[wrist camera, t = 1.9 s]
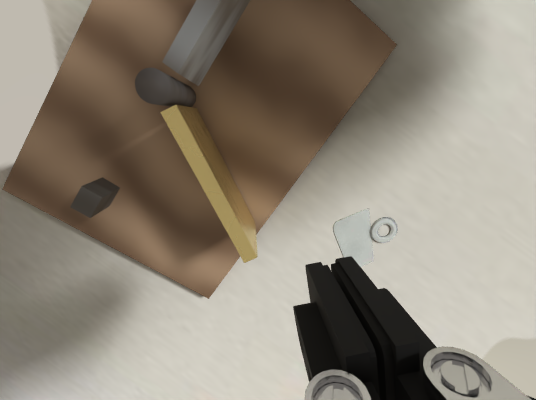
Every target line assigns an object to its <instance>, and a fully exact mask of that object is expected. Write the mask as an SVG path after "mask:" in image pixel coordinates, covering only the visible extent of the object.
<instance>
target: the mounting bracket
mask: <svg viewBox="0 0 536 400" xmlns="http://www.w3.org/2000/svg"><path fill="white" fill-rule="evenodd" d="M384 224H387V225H389V226H390V228H391V230H390V233H389V234H388V235H386V236H380V235H379V234H378V229H379V227H380V226H382V225H384ZM333 230H334V234H335V236H336V239H337V241H338V244H339V246H340V249H341V252H342V254H343V257H349V256H352V257H353V258H354V260H355V261H356V262H357V263H358V265H359V266H360V267H361V266H364V265H366V264H368V263H371V262H373V261H374V255H373V244H372V238H373V240H375V241H377V242H381V243H385V242H389V241H390V240H392V239H393V238H394V237H395V235H396V233H397V224H396V223H395V221H394V220H393V219H391V218H388V217H383V218H380V219H378V220H376V221H375V222H374V223H373V225H372V227H371V223H370V213H369V208H367V209H365V210H363V211H360V212H358V213H356V214H353V215H351V216H348V217H346V218H344V219H341V220H339V221H337V222H336V223H335V224H334V227H333Z"/></svg>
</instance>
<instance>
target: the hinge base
mask: <svg viewBox="0 0 536 400" xmlns="http://www.w3.org/2000/svg"><path fill="white" fill-rule="evenodd" d="M396 46H397V44H396V43H395V42H394V41H393V40H392V39H391V38H389V37H388V36H387V35H386V34H385V33H384V32H383V31H382V30H381V29H380V28H379V27H378V26H377V25H376V24H375V23H374V22H372V21H371V20H370V19H369V18H368V17H367V16H366V15H365V14H364V13H363V12H362V11H361V10H360V9H359V8H358V7H356V6H355V5H354V4H353V3H352V2H351V1H350V0H92V2H91V4H90V6H89V8H88V10H87V13H86V15H85V17H84V19H83V21H82V23H81V25H80V27H79V29H78V31H77V33H76V36H75V38H74V40H73V42H72V44H71V46H70V48H69V50H68V52H67V54H66V57H65V59H64V61H63V63H62V65H61V67H60V69H59V71H58V73H57V75H56V78H55V80H54V82H53V84H52V86H51V88H50V90H49V92H48V94H47V96H46V99H45V101H44V103H43V105H42V107H41V109H40V111H39V113H38V115H37V117H36V119H35V122H34V124H33V126H32V128H31V130H30V132H29V134H28V136H27V138H26V140H25V143H24V145H23V147H22V149H21V151H20V153H19V155H18V157H17V159H16V161H15V163H14V166H13V168H12V170H11V172H10V174H9V176H8V178H7V180H6V182H5V184H4V187H3V190H4V191H6V192H8V193H10V194H12V195H14V196H16V197H18V198H20V199H21V200H23V201H25V202H27V203H29V204H31V205H33V206H35V207H37V208H38V209H40V210H42V211H44V212H46V213H48V214H50V215H52V216H54V217H55V218H57V219H59V220H61V221H63V222H65V223H67V224H69V225H71V226H72V227H74V228H76V229H78V230H80V231H82V232H84V233H86V234H88V235H89V236H91V237H93V238H95V239H97V240H99V241H101V242H103V243H105V244H106V245H108V246H110V247H112V248H114V249H116V250H118V251H120V252H122V253H123V254H125V255H127V256H129V257H131V258H133V259H135V260H137V261H139V262H140V263H142V264H144V265H146V266H148V267H150V268H152V269H154V270H155V271H157V272H159V273H161V274H163V275H165V276H167V277H169V278H171V279H172V280H174V281H176V282H178V283H180V284H182V285H184V286H186V287H188V288H189V289H191V290H193V291H195V292H197V293H199V294H201V295H203V296H205V297H206V298H208V299H209V297H210V296H211V295H212V293H213V292H214V291H215V289H216V288H217V287H218V285H219V284H220V283H221V281H222V280H223V279H224V277H225V276H226V275H227V273H228V272H229V271H230V269H231V268H232V266H233V265H234V264H235V262H236V261H237V260H238V258H239V257H240V255H239V253H238V251H237V249H236V247H235V246H234V244H233V242H232V240H231V238H230V237H229V235H228V233H227V231H226V229H225V228H224V226H223V224H222V222H221V220H220V219H219V217H218V215H217V213H216V211H215V210H214V208H213V206H212V204H211V202H210V201H209V199H208V197H207V195H206V193H205V192H204V190H203V188H202V186H201V184H200V183H199V181H198V179H197V177H196V175H195V174H194V172H193V170H192V168H191V166H190V165H189V163H188V161H187V159H186V157H185V156H184V154H183V152H182V150H181V148H180V147H179V145H178V143H177V141H176V140H175V138H174V136H173V134H172V132H171V131H170V129H169V127H168V125H167V123H166V122H165V120H164V118H163V116H162V114H161V113H160V112H162V111H164V110H166V109H168V108H170V107H172V106H174V105H181V106H187V107H192V108H197V110H198V111H199V113H200V115H201V117H202V119H203V121H204V123H205V125H206V127H207V129H208V131H209V133H210V135H211V137H212V139H213V141H214V143H215V145H216V147H217V148H218V150H219V152H220V154H221V156H222V158H223V160H224V162H225V164H226V166H227V168H228V170H229V172H230V174H231V176H232V178H233V180H234V182H235V184H236V186H237V187H238V189H239V191H240V193H241V195H242V197H243V199H244V201H245V203H246V205H247V207H248V209H249V211H250V213H251V215H252V217H253V219H254V221H255V226H256V234H257V233H258V231H259V230H260V229H261V227H262V226H263V225H264V223H265V222H266V221H267V219H268V218H269V217H270V215H271V214H272V213H273V211H274V210H275V209H276V207H277V206H278V205H279V203H280V202H281V200H282V199H283V198H284V196H285V195H286V194H287V192H288V191H289V190H290V188H291V187H292V186H293V184H294V183H295V182H296V180H297V179H298V178H299V176H300V175H301V174H302V172H303V171H304V169H305V168H306V167H307V165H308V164H309V163H310V161H311V160H312V159H313V157H314V156H315V155H316V153H317V152H318V151H319V149H320V148H321V147H322V145H323V144H324V143H325V141H326V140H327V139H328V137H329V136H330V134H331V133H332V132H333V130H334V129H335V128H336V126H337V125H338V124H339V122H340V121H341V120H342V118H343V117H344V116H345V114H346V113H347V112H348V110H349V109H350V108H351V106H352V105H353V103H354V102H355V101H356V99H357V98H358V97H359V95H360V94H361V93H362V91H363V90H364V89H365V87H366V86H367V85H368V83H369V82H370V81H371V79H372V78H373V77H374V75H375V74H376V72H377V71H378V70H379V68H380V67H381V66H382V64H383V63H384V62H385V60H386V59H387V58H388V56H389V55H390V54H391V52H392V51H393V50H394V48H395V47H396Z"/></svg>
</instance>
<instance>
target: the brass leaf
mask: <svg viewBox="0 0 536 400" xmlns="http://www.w3.org/2000/svg"><path fill="white" fill-rule="evenodd" d="M160 113H161V114H162V116H163V118H164V120H165V122H166V123H167V125H168V127H169V129H170V131H171V132H172V134H173V136H174V138H175V140H176V141H177V143H178V145H179V147H180V148H181V150H182V152H183V154H184V156H185V157H186V159H187V161H188V163H189V165H190V166H191V168H192V170H193V172H194V174H195V175H196V177H197V179H198V181H199V183H200V184H201V186H202V188H203V190H204V192H205V193H206V195H207V197H208V199H209V201H210V202H211V204H212V206H213V208H214V210H215V211H216V213H217V215H218V217H219V219H220V220H221V222H222V224H223V226H224V228H225V229H226V231H227V233H228V235H229V237H230V238H231V240H232V242H233V244H234V246H235V247H236V249H237V251H238V253H239V255H240V256H241V258H242V260H243V262H244V263H245V262H248V261H250V260H252V259H254V258H257V242H256V226H255V221H254V219H253V217H252V215H251V213H250V211H249V209H248V207H247V205H246V203H245V201H244V199H243V197H242V195H241V193H240V191H239V189H238V187H237V186H236V184H235V182H234V180H233V178H232V176H231V174H230V172H229V170H228V168H227V166H226V164H225V162H224V160H223V158H222V156H221V154H220V152H219V150H218V148H217V147H216V145H215V143H214V141H213V139H212V137H211V135H210V133H209V131H208V129H207V127H206V125H205V123H204V121H203V119H202V117H201V115H200V113H199V111H198V110H197V108H192V107H187V106H181V105H174V106H172V107H170V108H168V109H166V110H164V111H162V112H160Z"/></svg>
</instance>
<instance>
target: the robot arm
mask: <svg viewBox="0 0 536 400" xmlns="http://www.w3.org/2000/svg"><path fill="white" fill-rule="evenodd" d="M331 271H332V272H331ZM306 274H307V281H308V288H309V295H310V302H311V303H307V304H302V305H297V306H293V308H294V315H295V321H296V326H297V332H298V336H299V341H300V346H301V350H302V354H303V358H304V362H305V366H306V370H307V375H308V379H309V384H308V386H307V389H306V392H305V400H536V399H534V398H532V397H529V396H527V395H525V394H524V393H523V392H521V391H520V390H519V389H518V388H517V387H515V386H514V385H513V384H512V383H510V382H509V381H508V380H507V379H506V378H504V377H503V376H502V375H501V374H500V373H498V372H497V371H496V370H495V369H493V368H492V367H491V366H490V365H489V364H487V363H486V362H485V361H483V360H482V359H480V358H479V357H478V356H476V355H474V354H472V353H470V352H468V351H465V350H462V349H458V348H455V347H438V348H437V347H436V346H435V345H434V344H433V343H432V341H431V340H430V339H429V338H428V337H427V336H426V334H425V333H424V332H423V331H422V330H421V328H420V327H419V326H418V325H417V324H416V323H415V321H414V320H413V319H412V318H411V317H410V315H409V314H408V313H407V312H406V311H405V310H404V308H403V307H402V306H401V305H400V304H399V302H398V301H397V300H396V299H395V298H394V297H393V295H392V294H391V293H390V292H389V291H388V290H387V289H385V288H383V289H377V287H376V286H375V285H374V284H373V282H372V281H371V280H370V279H369V277H368V276H367V275H366V273H365V272H364V271H363V270H362V268H361V267H360V266H359V265H358V263H357V262H356V261H355V260H354V258H353V257H352V256H349V257H344V258H339V259H336V261H335V263H334V264H331V270H330V268H329V267H328V265H324V266H323V265H322V263H321V262H318V263H313V264H308V265H306Z"/></svg>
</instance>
